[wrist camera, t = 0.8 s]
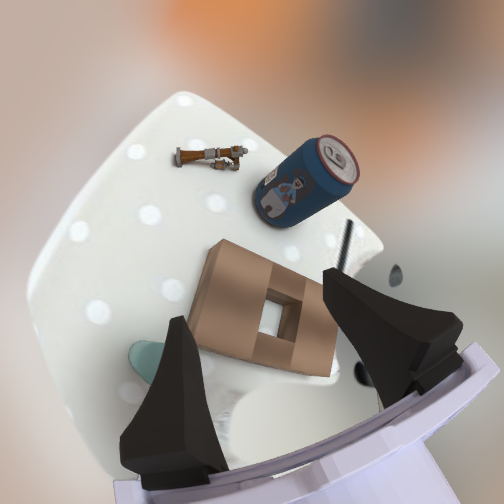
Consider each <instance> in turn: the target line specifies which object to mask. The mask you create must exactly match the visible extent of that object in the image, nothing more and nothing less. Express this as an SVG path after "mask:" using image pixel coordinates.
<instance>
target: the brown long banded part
mask: <svg viewBox="0 0 504 504" xmlns="http://www.w3.org/2000/svg"><path fill="white" fill-rule="evenodd" d="M247 153H248V149H247V148H243V147H242V146H234V147H232V146H231V148H225V149H220V148H217V149H215V148H212V149H204V150H203V151H183V150H180V147H177V152H176V160H177V164H178V168H179V167H182V164H184V163H187V162H191V161H195V160H199V159H205V160H208V159H215V158H218V159H220V157H228V158H229V159H231V160H232V161H233V162H232V163H234V165H232V163H230V162H229V161H228V163H227V162H226V161H225V159H223V160H222V161H217V160H215V163H211V167H212V168H216V170H217V169H224V170H225V168H226V166H228V167H229V166H230V164H231V165H232V166H234V169H235V170H239V167H240V164H239V157H243V154H247ZM233 157H234V158H233Z"/></svg>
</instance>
